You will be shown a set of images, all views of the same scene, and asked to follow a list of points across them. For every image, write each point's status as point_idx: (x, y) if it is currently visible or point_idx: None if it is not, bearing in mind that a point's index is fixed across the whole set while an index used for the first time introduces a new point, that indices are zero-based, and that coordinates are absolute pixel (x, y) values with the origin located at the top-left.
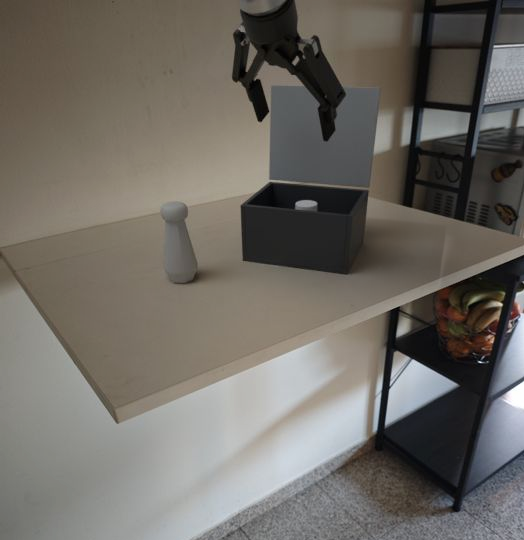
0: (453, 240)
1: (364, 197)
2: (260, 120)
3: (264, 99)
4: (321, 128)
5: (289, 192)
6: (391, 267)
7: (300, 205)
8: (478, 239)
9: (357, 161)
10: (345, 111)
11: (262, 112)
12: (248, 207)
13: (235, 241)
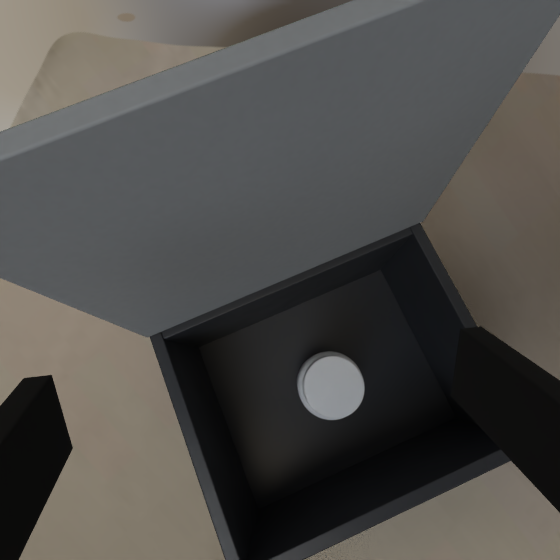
0: (500, 142)
1: (451, 280)
2: (66, 458)
3: (3, 462)
4: (502, 448)
5: (219, 321)
6: (500, 331)
7: (334, 413)
8: (529, 110)
9: (406, 202)
10: (389, 115)
11: (47, 455)
12: None
13: (165, 442)
